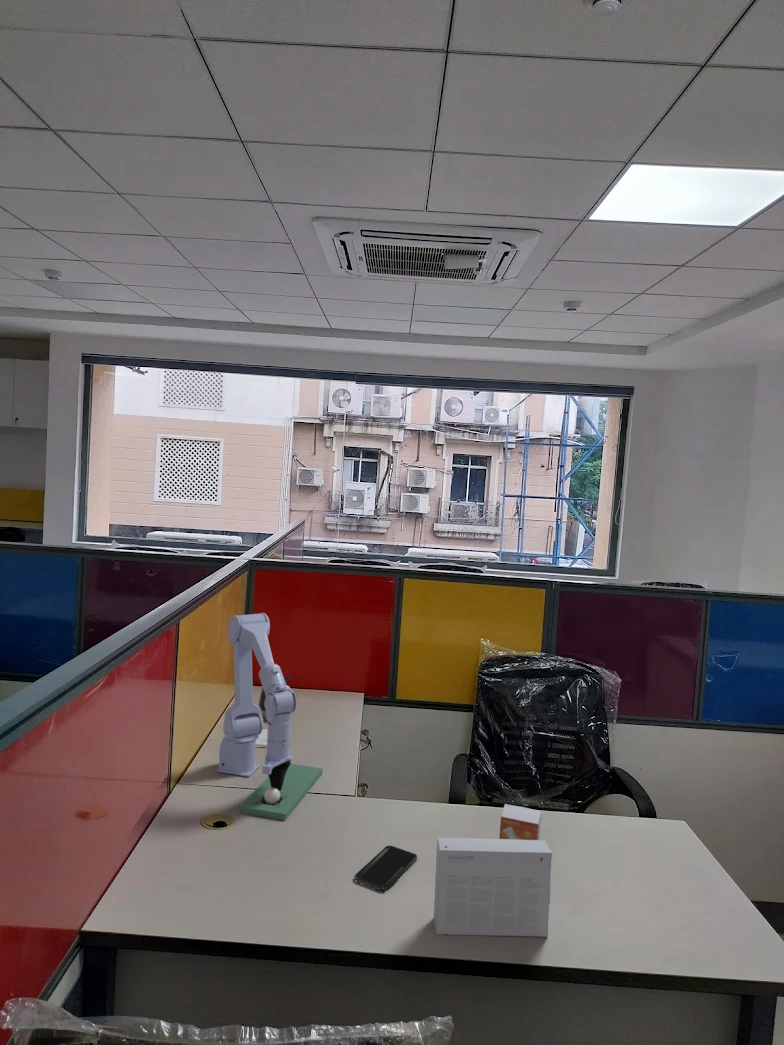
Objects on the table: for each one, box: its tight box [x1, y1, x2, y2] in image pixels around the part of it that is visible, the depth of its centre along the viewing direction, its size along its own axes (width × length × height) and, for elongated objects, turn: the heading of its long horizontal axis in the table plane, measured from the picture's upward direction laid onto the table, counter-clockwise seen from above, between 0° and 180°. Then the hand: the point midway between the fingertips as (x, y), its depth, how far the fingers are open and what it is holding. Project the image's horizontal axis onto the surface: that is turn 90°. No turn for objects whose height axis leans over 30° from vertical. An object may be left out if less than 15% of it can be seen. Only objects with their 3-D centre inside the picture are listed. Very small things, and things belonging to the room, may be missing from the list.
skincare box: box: [433, 837, 553, 938], centre depth 125 cm, size 21×6×16 cm, turn 92°
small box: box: [498, 803, 542, 840], centre depth 144 cm, size 8×6×13 cm
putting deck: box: [238, 763, 324, 821], centre depth 175 cm, size 12×27×2 cm, turn 167°
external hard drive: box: [256, 728, 268, 746], centre depth 208 cm, size 2×8×12 cm
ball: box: [264, 787, 280, 805], centre depth 167 cm, size 4×4×4 cm
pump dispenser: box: [258, 674, 292, 719], centre depth 228 cm, size 10×10×15 cm
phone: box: [354, 845, 418, 893], centre depth 142 cm, size 8×1×15 cm
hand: (276, 790), depth 170 cm, fingers closed
